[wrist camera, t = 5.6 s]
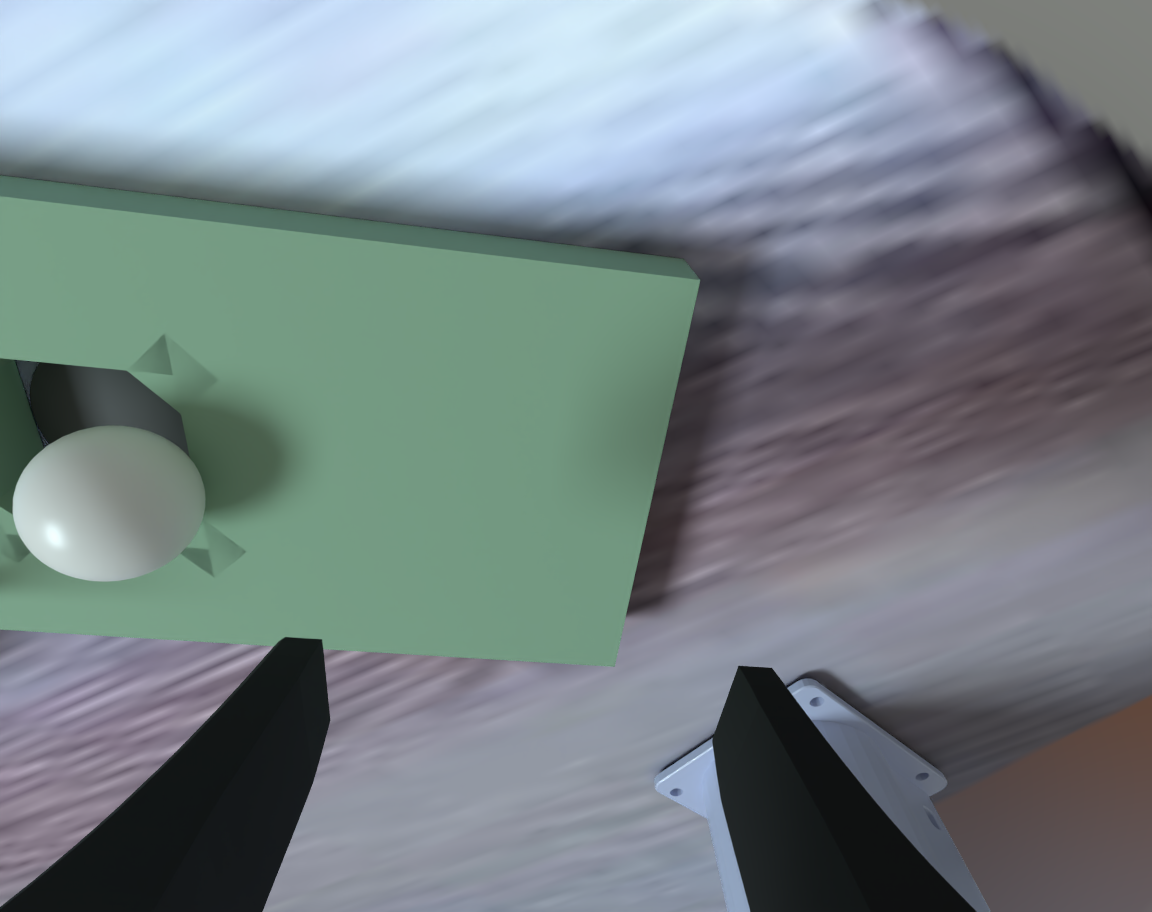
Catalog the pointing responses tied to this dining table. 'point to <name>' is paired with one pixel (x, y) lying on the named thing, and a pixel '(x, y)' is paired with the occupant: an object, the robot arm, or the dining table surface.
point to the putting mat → (345, 420)
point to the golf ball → (109, 503)
